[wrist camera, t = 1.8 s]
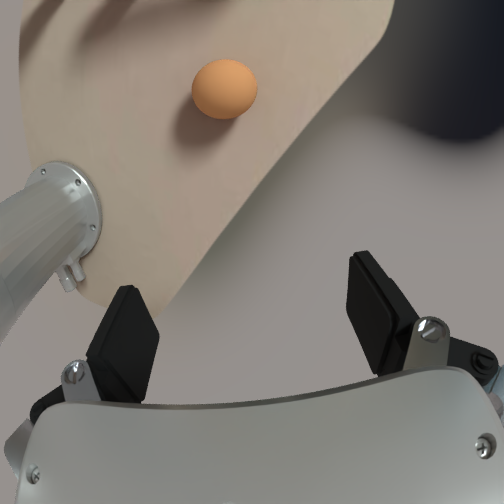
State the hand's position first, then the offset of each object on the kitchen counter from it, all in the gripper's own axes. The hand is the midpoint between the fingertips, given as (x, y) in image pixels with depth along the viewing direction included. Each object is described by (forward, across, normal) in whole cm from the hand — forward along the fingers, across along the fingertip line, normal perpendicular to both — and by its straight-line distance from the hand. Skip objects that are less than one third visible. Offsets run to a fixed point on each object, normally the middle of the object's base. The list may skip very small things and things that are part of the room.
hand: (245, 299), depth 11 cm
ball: (+15, 0, -9) cm, 18 cm away
